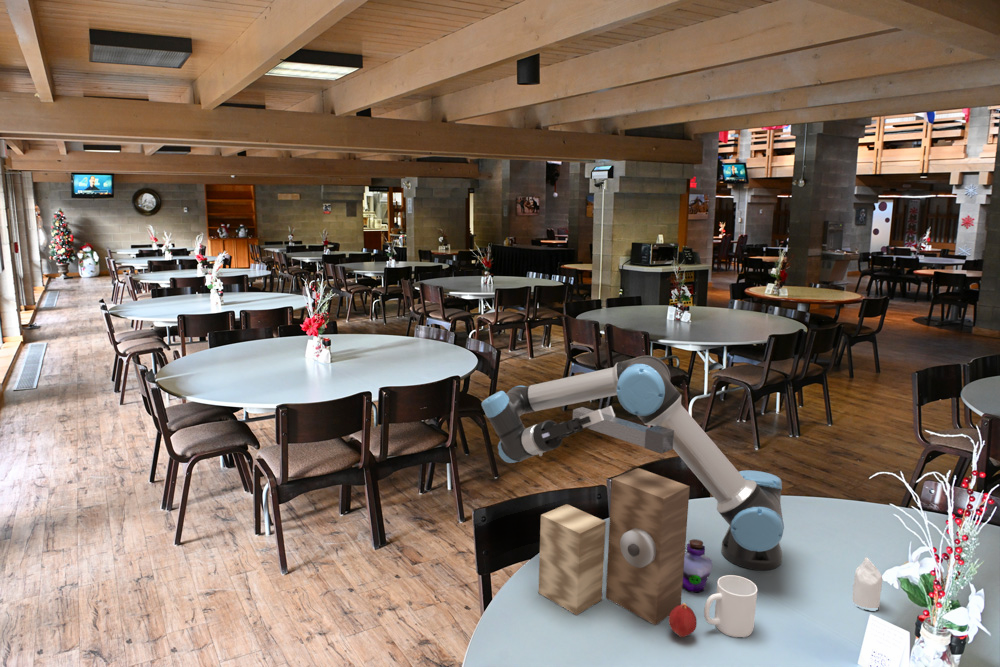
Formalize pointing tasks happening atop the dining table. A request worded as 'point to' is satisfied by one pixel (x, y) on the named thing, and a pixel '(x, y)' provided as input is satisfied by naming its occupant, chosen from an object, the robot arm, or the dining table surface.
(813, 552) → the dining table surface
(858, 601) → the beige pointed piece
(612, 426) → the grey long bar
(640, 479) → the post
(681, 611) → the onion
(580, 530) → the oak block
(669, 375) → the robot arm
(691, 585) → the potion bottle
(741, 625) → the cup
